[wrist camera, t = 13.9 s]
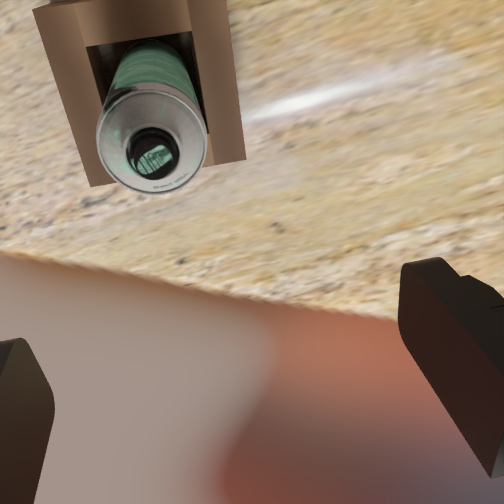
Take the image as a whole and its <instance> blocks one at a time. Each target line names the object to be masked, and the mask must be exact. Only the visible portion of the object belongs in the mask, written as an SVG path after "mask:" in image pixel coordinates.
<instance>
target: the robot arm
mask: <svg viewBox="0 0 504 504" xmlns="http://www.w3.org/2000/svg"><path fill="white" fill-rule="evenodd" d="M398 325H399V331H400V334H401V337H402V340H403V342H404V344H405V346H406V347H407V349H408V351H409V352H410V354H411V355H412V357H413V359H414V360H415V362H416V363H417V365H418V366H419V368H420V369H421V371H422V372H423V374H424V376H425V377H426V379H427V380H428V382H429V384H430V385H431V387H432V388H433V390H434V391H435V393H436V394H437V396H438V397H439V399H440V401H441V402H442V404H443V405H444V407H445V408H446V410H447V412H448V413H449V415H450V416H451V418H452V419H453V421H454V422H455V424H456V426H457V427H458V429H459V430H460V432H461V433H462V435H463V436H464V438H465V440H466V441H467V443H468V444H469V446H470V447H471V449H472V450H473V452H474V454H475V455H476V457H477V458H478V460H479V461H480V463H481V465H482V466H483V468H484V469H485V471H486V472H487V474H488V476H489V477H490V478H491V479H492V478H496V477H501V476H504V298H503V297H502V296H501V295H500V294H499V293H498V292H497V291H496V290H495V289H494V288H493V287H491V286H489V285H487V284H485V283H483V282H482V281H480V280H478V279H476V278H474V277H472V276H470V275H466V276H461V277H460V276H459V275H458V274H457V273H456V271H455V270H454V269H453V268H452V267H451V266H450V265H449V264H448V263H447V262H446V261H445V260H444V259H442V258H441V257H435V258H430V259H425V260H419V261H414V262H409V263H405V264H404V265H403V266H402V269H401V276H400V291H399V306H398ZM54 414H55V403H54V397H53V392H52V390H51V387H50V385H49V383H48V382H47V379H46V377H45V375H44V373H43V371H42V369H41V367H40V365H39V363H38V362H37V360H36V358H35V356H34V354H33V352H32V350H31V348H30V346H29V344H28V343H27V341H26V340H25V339H23V338H16V339H11V340H6V341H1V342H0V504H34V499H35V495H36V491H37V487H38V483H39V479H40V474H41V470H42V466H43V461H44V458H45V454H46V450H47V445H48V441H49V437H50V432H51V429H52V424H53V420H54Z"/></svg>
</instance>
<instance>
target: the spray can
mask: <svg viewBox="0 0 504 504" xmlns="http://www.w3.org/2000/svg"><path fill="white" fill-rule="evenodd" d="M96 142H97V149H98V154H99V157H100V160H101V162H102V164H103V166H104V167H105V169H106V171H107V172H108V173H109V174H110V176H111V177H112V178H113V179H114V180H115V181H117V182H118V183H119V184H120V185H122V186H123V187H125V188H127V189H129V190H131V191H134V192H137V193H140V194H145V195H164V194H169V193H173V192H175V191H177V190H180V189H182V188H183V187H185V186H186V185H188V184H189V183H190V182H191V181H192V180H193V179H194V178H195V177H196V176H197V174H198V173H199V171H200V170H201V168H202V166H203V163H204V161H205V157H206V152H207V131H206V126H205V123H204V120H203V116H202V113H201V110H200V107H199V104H198V101H197V98H196V95H195V92H194V89H193V86H192V83H191V80H190V77H189V74H188V71H187V68H186V65H185V63H184V60H183V59H182V57H181V56H180V54H179V53H178V52H177V51H176V50H175V49H174V48H173V47H171V46H170V45H168V44H167V43H164V42H162V41H158V40H142V41H139V42H137V43H135V44H133V45H132V46H131V47H129V48H128V49H127V50H126V52H125V53H124V54H123V56H122V58H121V60H120V62H119V65H118V68H117V70H116V73H115V76H114V78H113V81H112V84H111V86H110V89H109V92H108V94H107V97H106V100H105V102H104V105H103V108H102V111H101V113H100V116H99V119H98V123H97V128H96Z"/></svg>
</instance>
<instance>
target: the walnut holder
mask: <svg viewBox="0 0 504 504" xmlns="http://www.w3.org/2000/svg"><path fill="white" fill-rule="evenodd" d="M32 11H33V14H34V17H35V20H36V23H37V26H38V29H39V32H40V35H41V38H42V41H43V44H44V48H45V51H46V54H47V57H48V60H49V63H50V66H51V69H52V72H53V75H54V78H55V81H56V84H57V87H58V90H59V93H60V96H61V99H62V102H63V105H64V108H65V111H66V114H67V117H68V120H69V123H70V126H71V129H72V132H73V136H74V139H75V142H76V145H77V148H78V151H79V154H80V157H81V160H82V163H83V166H84V169H85V172H86V175H87V178H88V181H89V184H90V187H94V186H100V185H106V184H111V183H117V181H115V180H114V179H113V178H112V177H111V176H110V174H109V173H108V172H107V171H106V169H105V167H104V166H103V164H102V162H101V160H100V157H99V154H98V149H97V142H96V128H97V123H98V119H99V116H100V113H101V111H102V108H103V105H104V102H105V100H106V97H107V94H108V92H109V89H110V88H109V84H108V81H107V77H106V73H105V70H104V66H103V62H102V59H101V55H100V51H99V48H98V45H101V44H108V43H114V42H121V41H128V40H134V39H141V38H148V37H154V36H161V35H168V34H174V33H181V32H188V33H189V38H190V44H191V50H192V56H193V62H194V67H195V73H196V79H197V85H198V91H199V96H200V102H201V108H202V116H203V120H204V123H205V126H206V131H207V152H206V157H205V161H204V163H203V166H202V167H207V166H213V165H219V164H224V163H230V162H235V161H241V160H246V153H245V145H244V137H243V130H242V122H241V114H240V106H239V99H238V91H237V83H236V75H235V68H234V60H233V52H232V44H231V37H230V29H229V21H228V13H227V6H226V0H71V1H64V2H57V3H50V4H47V5H44V6H41V7H38V8H35V9H32Z"/></svg>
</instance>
